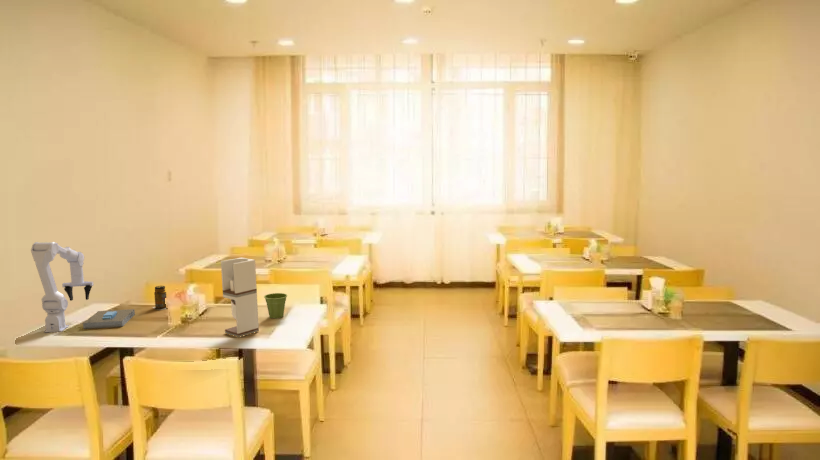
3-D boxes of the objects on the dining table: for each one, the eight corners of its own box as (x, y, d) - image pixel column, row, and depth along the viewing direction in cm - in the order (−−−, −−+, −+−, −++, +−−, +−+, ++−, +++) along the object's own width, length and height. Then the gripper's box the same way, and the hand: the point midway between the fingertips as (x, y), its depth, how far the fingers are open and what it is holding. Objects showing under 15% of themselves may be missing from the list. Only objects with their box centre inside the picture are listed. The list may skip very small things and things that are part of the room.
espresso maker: (245, 327, 293) (241, 257, 288) (258, 331, 286) (255, 259, 281) (225, 333, 284) (220, 261, 279) (238, 337, 278) (234, 263, 273)
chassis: (122, 326, 298) (122, 320, 298) (83, 329, 295) (83, 323, 295) (134, 314, 319) (134, 309, 319) (98, 316, 316) (98, 311, 316)
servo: (111, 324, 302) (110, 316, 302) (102, 324, 302) (101, 316, 301) (117, 318, 313) (117, 310, 312) (109, 318, 312) (109, 310, 312)
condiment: (165, 305, 338) (164, 284, 336) (170, 308, 331) (169, 287, 329) (152, 307, 333) (150, 286, 331) (157, 310, 326) (155, 289, 325)
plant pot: (275, 321, 303) (274, 299, 301) (260, 317, 310) (259, 296, 309) (293, 315, 312) (292, 294, 311) (278, 312, 320) (277, 291, 318)
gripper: (94, 272, 318) (96, 297, 320) (65, 273, 315) (67, 298, 317) (89, 274, 311) (92, 300, 313) (59, 276, 309) (62, 302, 310)
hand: (79, 299), depth 315 cm, fingers open, 7 cm apart
